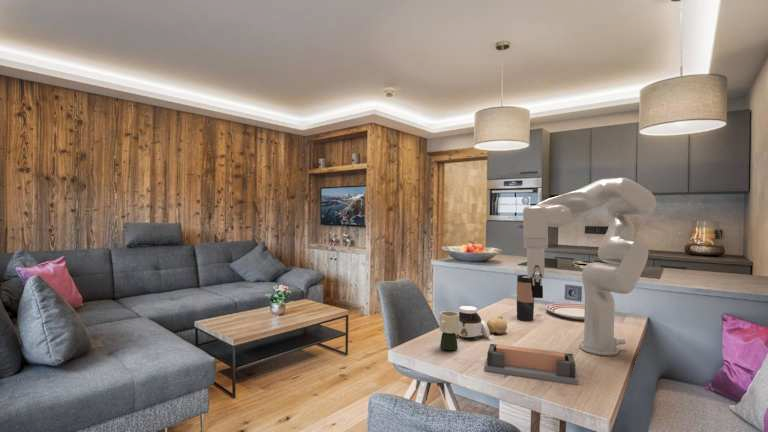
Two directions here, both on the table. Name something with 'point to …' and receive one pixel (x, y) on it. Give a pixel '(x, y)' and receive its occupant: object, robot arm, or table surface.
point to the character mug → (449, 329)
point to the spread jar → (471, 324)
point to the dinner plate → (568, 310)
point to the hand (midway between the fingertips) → (536, 294)
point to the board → (532, 373)
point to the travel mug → (524, 298)
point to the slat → (530, 357)
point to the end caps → (562, 367)
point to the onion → (497, 325)
